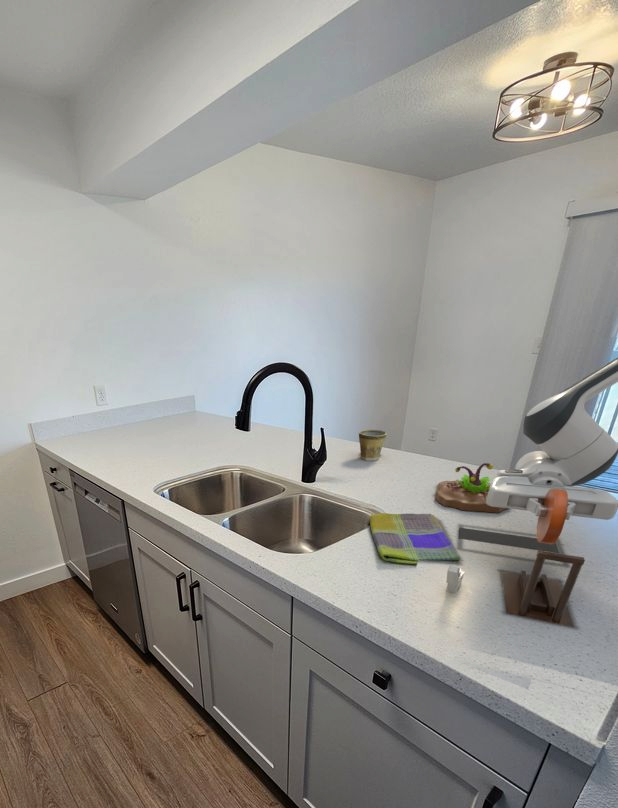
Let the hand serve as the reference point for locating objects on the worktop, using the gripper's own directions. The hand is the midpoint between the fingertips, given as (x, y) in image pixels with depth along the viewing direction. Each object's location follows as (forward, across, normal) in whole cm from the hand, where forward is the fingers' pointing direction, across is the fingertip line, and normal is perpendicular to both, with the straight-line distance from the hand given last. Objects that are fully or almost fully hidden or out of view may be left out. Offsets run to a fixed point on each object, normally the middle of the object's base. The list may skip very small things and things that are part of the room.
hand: (553, 514), depth 78 cm
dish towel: (-14, +23, -17) cm, 32 cm away
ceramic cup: (-83, +44, -17) cm, 96 cm away
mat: (-19, +2, -17) cm, 26 cm away
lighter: (+7, +13, -17) cm, 23 cm away
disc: (-1, 0, -6) cm, 6 cm away
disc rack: (+3, -1, -17) cm, 17 cm away
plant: (-49, +9, -17) cm, 53 cm away
